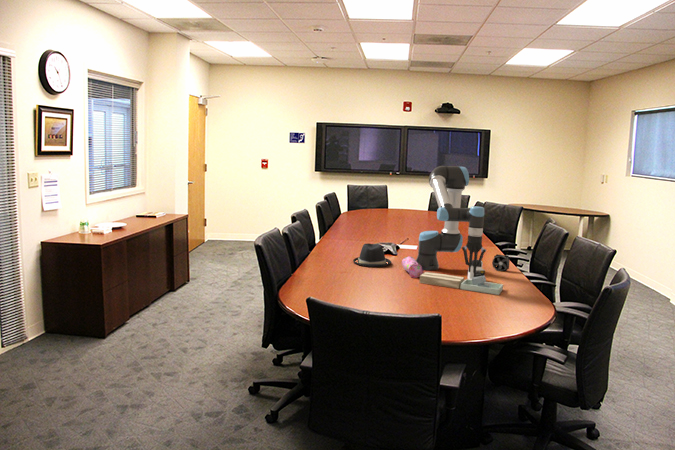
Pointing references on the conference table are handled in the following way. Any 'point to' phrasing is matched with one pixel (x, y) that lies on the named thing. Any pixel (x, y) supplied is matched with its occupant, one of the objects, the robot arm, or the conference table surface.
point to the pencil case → (412, 267)
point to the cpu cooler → (501, 262)
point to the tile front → (485, 285)
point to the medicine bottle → (477, 270)
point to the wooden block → (441, 280)
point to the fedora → (372, 256)
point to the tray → (469, 286)
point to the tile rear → (479, 280)
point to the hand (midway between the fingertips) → (471, 278)
